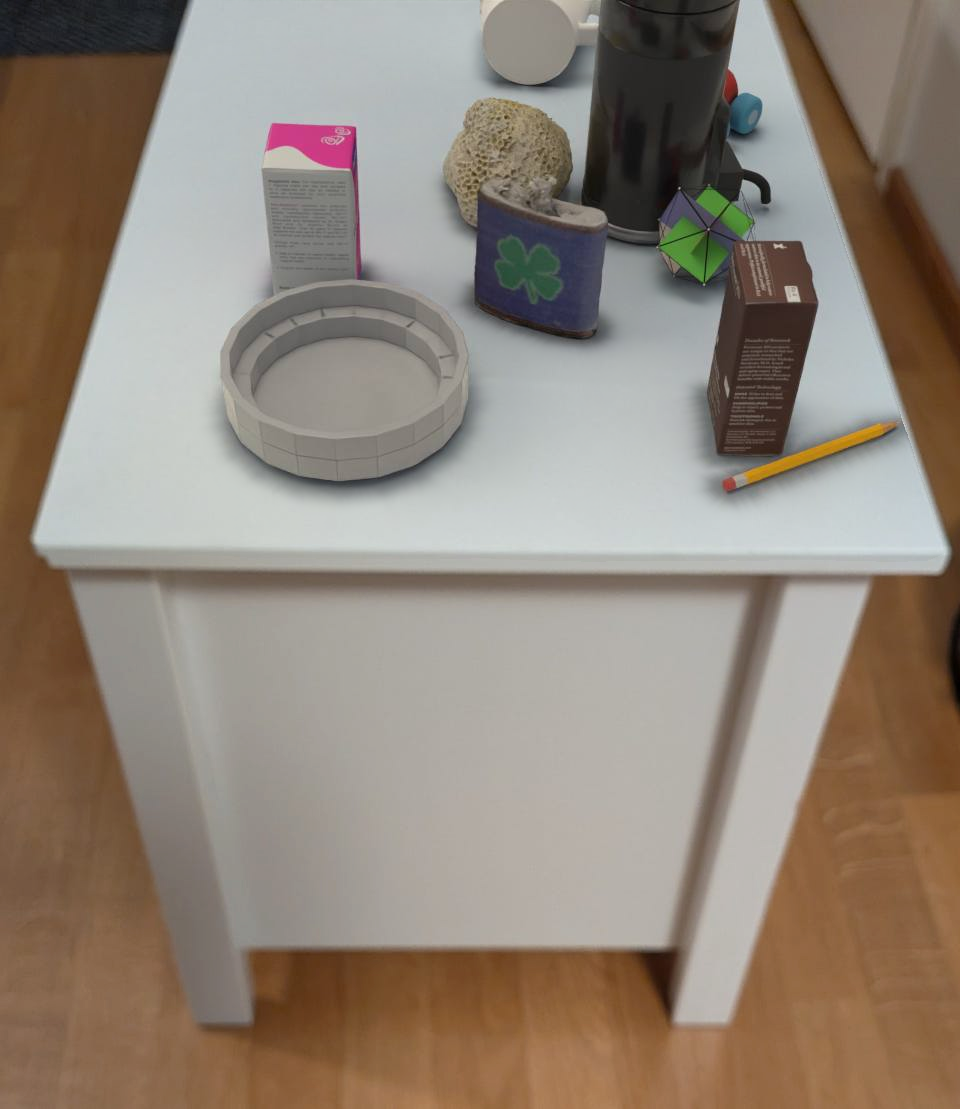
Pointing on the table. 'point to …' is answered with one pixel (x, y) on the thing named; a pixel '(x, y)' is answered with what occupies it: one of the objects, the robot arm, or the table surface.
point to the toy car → (741, 107)
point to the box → (761, 346)
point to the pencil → (806, 456)
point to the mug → (535, 36)
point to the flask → (539, 257)
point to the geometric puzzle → (701, 232)
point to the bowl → (345, 379)
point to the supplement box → (311, 204)
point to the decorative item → (505, 151)
